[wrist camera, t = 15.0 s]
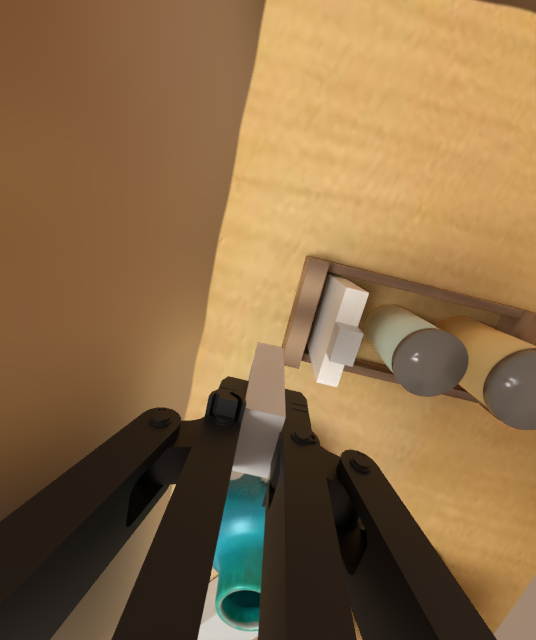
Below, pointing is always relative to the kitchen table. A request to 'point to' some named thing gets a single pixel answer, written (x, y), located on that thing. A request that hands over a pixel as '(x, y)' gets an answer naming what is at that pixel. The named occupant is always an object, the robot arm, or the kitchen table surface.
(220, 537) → the vase
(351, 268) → the wooden spice rack
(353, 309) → the plate
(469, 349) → the amber jar
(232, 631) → the skincare box
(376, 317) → the sage jar
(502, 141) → the kitchen table surface
